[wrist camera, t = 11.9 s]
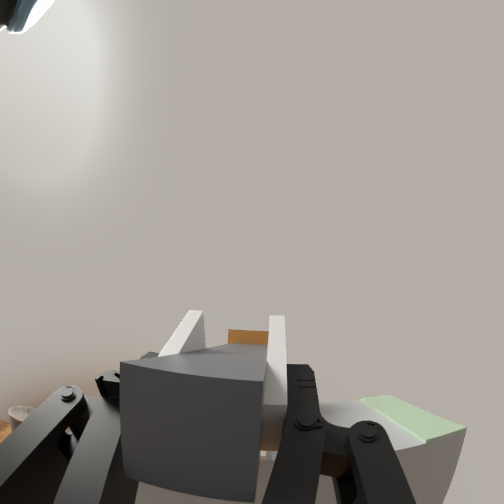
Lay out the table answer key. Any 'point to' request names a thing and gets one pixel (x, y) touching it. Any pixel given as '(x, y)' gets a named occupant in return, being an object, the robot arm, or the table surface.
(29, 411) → the pillar candle
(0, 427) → the table surface
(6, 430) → the table surface
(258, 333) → the handle
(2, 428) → the table surface
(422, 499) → the breaker panel
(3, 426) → the table surface
